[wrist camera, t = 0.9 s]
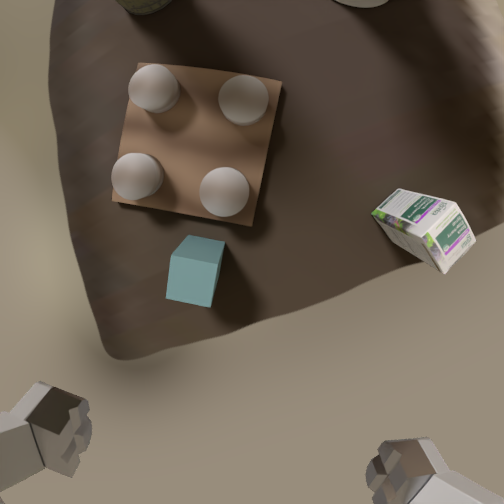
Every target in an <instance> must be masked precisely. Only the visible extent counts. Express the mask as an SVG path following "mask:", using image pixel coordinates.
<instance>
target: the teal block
mask: <svg viewBox="0 0 504 504" xmlns="http://www.w3.org/2000/svg"><path fill="white" fill-rule="evenodd" d="M224 245H225V242H222V241H217V240H212V239H207V238H202V237H196V236H191V235H188V236H187V237H186V238H185V240H184V241H183V242H182V243H181V244H180V245H179V247H178V248H177V249H176V250H175V251H174V252H173V254H172V255H171V261H170V269H169V277H168V285H167V294H166V298H167V299H172V300H176V301H181V302H186V303H191V304H196V305H200V306H205V307H211V304H212V300H213V296H214V292H215V289H216V285H217V281H218V278H219V273H220V267H221V261H222V256H223V251H224Z"/></svg>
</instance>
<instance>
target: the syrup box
mask: <svg viewBox="0 0 504 504" xmlns="http://www.w3.org/2000/svg"><path fill="white" fill-rule="evenodd" d="M371 214H372V215H373V217H374V218H375V219H376V221H377V222H378V223H379V225H380V226H381V227H382V228H383V230H384V231H385V232H386V234H387V235H388V237H389V238H390V239H391V241H392V242H393V243H395V244H397V245H398V246H400V247H402V248H403V249H405V250H406V251H408V252H410V253H411V254H413V255H414V256H416V257H418V258H419V259H421V260H422V261H424V262H426V263H427V264H429V265H430V266H432V267H434V268H435V269H436V270H438V271H440V272H441V273H443V274H444V275H445V274H446V273H447V271H448V270H449V269H450V268H451V267H452V266H453V265H454V264H455V263H456V262H457V261H458V260H459V259H460V258H461V257H462V256H463V255H464V254H465V253H466V252H467V251H468V250H469V249H470V247H471V246H472V245H473V244H474V243H475V242H476V239H475V237H474V235H473V233H472V230H471V228H470V226H469V224H468V222H467V220H466V219H465V217H464V215H463V213H462V212H461V210H460V208H459V207H458V205H457V203H456V202H453V201H449V200H445V199H441V198H437V197H433V196H428V195H424V194H420V193H415V192H411V191H407V190H403V189H397V190H396V191H395V192H394V193H393V194H392V195H390V196H389V197H388V198H387V199H386V200H385V201H384V202H383V203H382V204H381V205H379V206H378V207H377V208H376V209H375V210H374V211H373V212H372V213H371Z"/></svg>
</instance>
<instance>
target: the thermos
mask: <svg viewBox="0 0 504 504" xmlns="http://www.w3.org/2000/svg"><path fill="white" fill-rule="evenodd" d="M116 1H117V2H118V3H119V4H120V5H121V6H122V7H123V8H124V9H126V10H127V11H128V12H129V13H132V14H135V15H147V14H151V13H154V12H156V11H159V10H161V9H163V8H164V7H165V6H166V5H168V4H169V3H170V2H171V1H172V0H116Z"/></svg>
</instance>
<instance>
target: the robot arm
mask: <svg viewBox="0 0 504 504" xmlns="http://www.w3.org/2000/svg"><path fill="white" fill-rule="evenodd" d="M336 1H338V2H340V3H343V4H346V5H350V6H354V7H363V8H369V7H376V6H379V5H382V4H384V3H386V2H387V1H388V0H336ZM89 410H90V409H89V404H88V401H87V400H86V399H84V398H82V397H79V396H77V395H74V394H71V393H69V392H66V391H64V390H61V389H59V388H56V387H53V386H51V385H48V384H46V383H44V382H41V381H39V382H36V383H35V384H34V385H33V386H32V387H31V388H30V390H29V391H28V392H27V393H26V394H25V395H24V397H22V399H21V400H20V401H19V402H18V403H17V404H16V405H15V407H14V408H13V409H12V410H11V411H10V412H9V413H8V412H6V411H3V412H0V492H1V491H3V490H5V489H7V488H9V487H11V486H13V485H15V484H17V483H19V482H21V481H23V480H25V479H27V478H28V477H30V476H32V475H34V474H36V473H38V472H40V471H41V470H43V469H45V468H44V467H46V468H48V469H51V470H53V471H55V472H58V473H60V474H63V475H66V476H68V477H71V478H72V477H73V475H74V473H75V471H76V469H77V467H78V465H79V463H80V459H79V454H80V453H82V452H84V451H86V449H87V447H88V445H89V443H90V439H91V435H92V424H91V420H90V419H89V418H88V417H87V413H88V412H89ZM378 452H379V455H377V456H376V457H374V458H373V459H371V461H370V463H369V464H368V466H367V470H366V482H367V485H368V488H370V489H371V490H372V491H374V492H375V493H374V495H373V497H372V500H373V503H374V504H504V498H502V497H501V496H499V495H496V494H495V493H493V492H491V491H489V490H487V489H486V488H484V487H482V486H480V485H479V484H477V483H475V482H473V481H471V480H470V479H468V478H466V477H465V476H463V475H461V474H459V473H458V472H456V471H454V470H453V471H450V469H449V468H448V466H447V465H446V463H445V461H444V460H443V458H442V456H441V455H440V453H439V452H438V450H437V448H436V447H435V445H434V443H433V442H432V440H431V439H430V438H428V437H422V438H413V439H401V440H388V441H384V442H383V443H381V445H380V447H379V448H378ZM0 504H5V503H4V502H3V500H2V499H1V497H0Z"/></svg>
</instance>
